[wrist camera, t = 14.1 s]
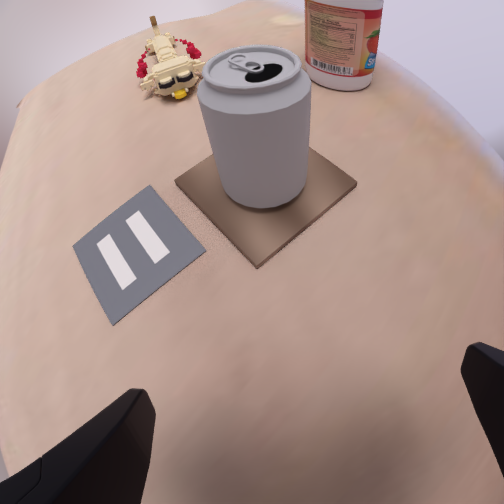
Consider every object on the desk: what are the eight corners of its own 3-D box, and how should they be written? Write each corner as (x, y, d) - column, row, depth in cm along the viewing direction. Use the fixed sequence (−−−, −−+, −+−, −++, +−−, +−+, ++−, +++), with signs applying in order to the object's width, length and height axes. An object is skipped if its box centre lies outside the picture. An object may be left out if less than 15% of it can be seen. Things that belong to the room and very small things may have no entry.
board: (257, 268, 23) (256, 265, 23) (175, 184, 28) (174, 180, 28) (356, 186, 26) (357, 181, 26) (268, 124, 31) (268, 120, 30)
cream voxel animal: (138, 61, 47) (145, 113, 34) (125, 24, 39) (123, 56, 26) (187, 44, 48) (219, 87, 34) (177, 7, 40) (206, 28, 27)
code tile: (112, 325, 22) (112, 325, 22) (73, 246, 26) (72, 245, 26) (206, 250, 25) (206, 250, 24) (150, 185, 29) (149, 184, 28)
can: (270, 230, 24) (257, 105, 14) (205, 186, 27) (167, 74, 16) (322, 174, 26) (334, 56, 16) (259, 140, 29) (246, 32, 18)
